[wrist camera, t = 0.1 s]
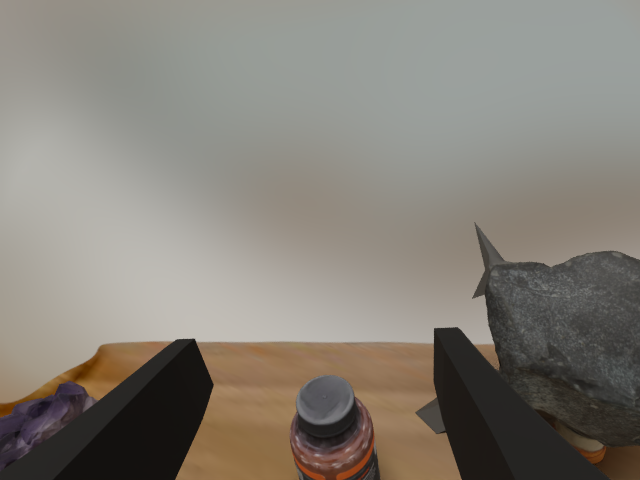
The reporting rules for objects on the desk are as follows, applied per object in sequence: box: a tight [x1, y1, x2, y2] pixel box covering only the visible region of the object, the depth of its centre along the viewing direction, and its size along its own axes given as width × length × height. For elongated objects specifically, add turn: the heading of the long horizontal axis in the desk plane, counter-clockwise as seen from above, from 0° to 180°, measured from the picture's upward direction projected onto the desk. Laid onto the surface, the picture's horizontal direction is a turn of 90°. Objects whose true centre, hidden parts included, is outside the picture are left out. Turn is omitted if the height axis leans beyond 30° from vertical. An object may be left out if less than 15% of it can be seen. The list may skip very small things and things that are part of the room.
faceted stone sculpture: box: [415, 223, 640, 464], centre depth 24 cm, size 14×15×18 cm
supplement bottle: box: [290, 375, 380, 480], centre depth 22 cm, size 6×6×11 cm
